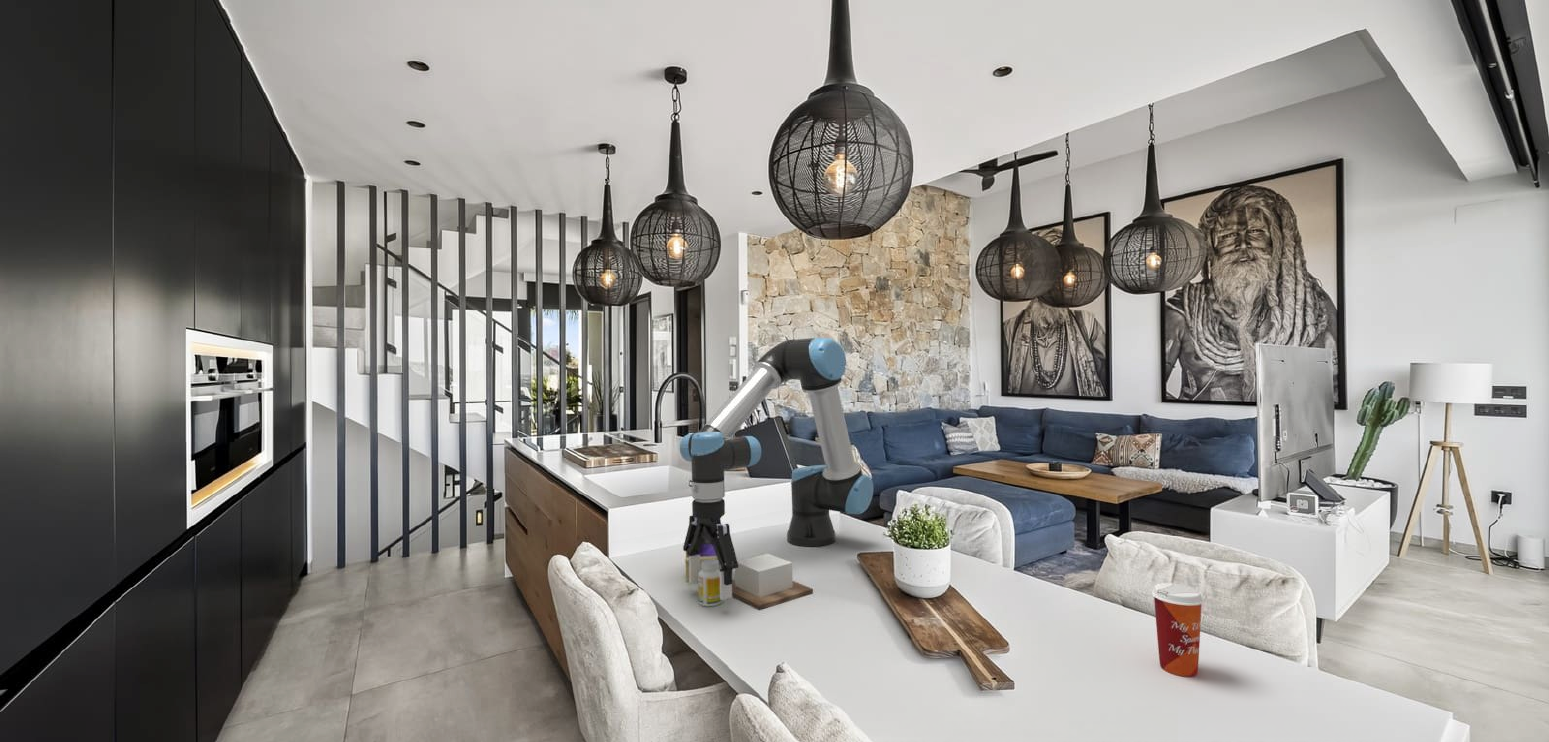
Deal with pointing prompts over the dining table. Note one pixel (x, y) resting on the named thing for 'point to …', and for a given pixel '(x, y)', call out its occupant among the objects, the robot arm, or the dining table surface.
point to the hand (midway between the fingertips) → (709, 590)
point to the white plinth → (763, 575)
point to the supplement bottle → (709, 583)
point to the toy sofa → (702, 556)
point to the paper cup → (1178, 627)
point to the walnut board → (770, 595)
